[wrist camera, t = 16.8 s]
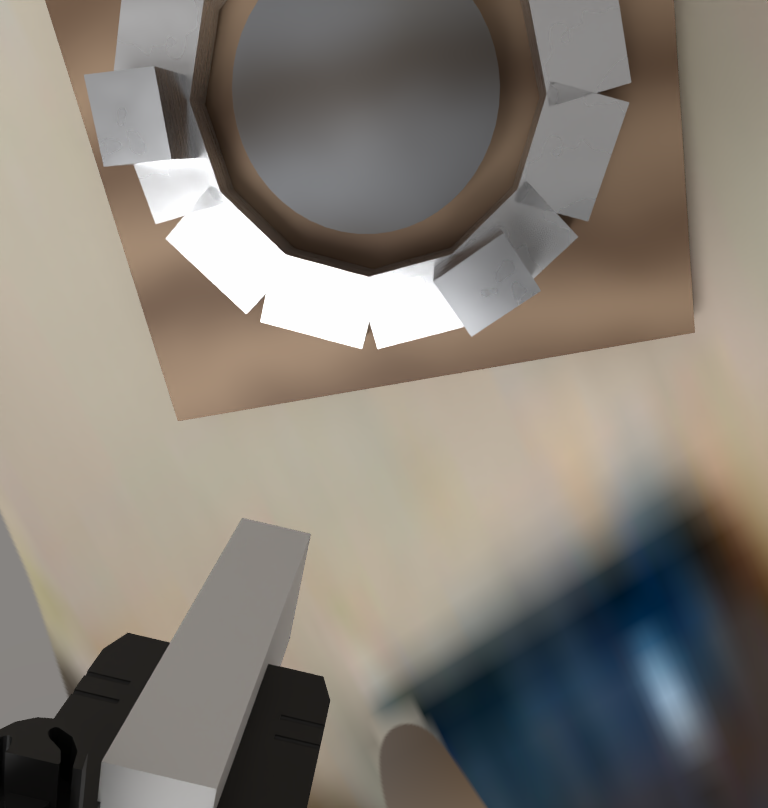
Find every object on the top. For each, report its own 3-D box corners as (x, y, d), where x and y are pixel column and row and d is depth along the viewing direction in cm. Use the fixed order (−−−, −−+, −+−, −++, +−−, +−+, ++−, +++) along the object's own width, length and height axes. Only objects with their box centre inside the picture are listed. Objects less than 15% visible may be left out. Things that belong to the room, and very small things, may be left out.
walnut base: (680, 322, 33) (715, 347, 29) (191, 406, 36) (158, 441, 32) (634, -328, 25) (674, -423, 21) (21, -149, 29) (-51, -200, 24)
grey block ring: (362, -331, 24) (343, -445, 20) (714, 94, 28) (770, 83, 23) (46, 106, 30) (-27, 98, 25) (375, 414, 33) (364, 458, 29)
